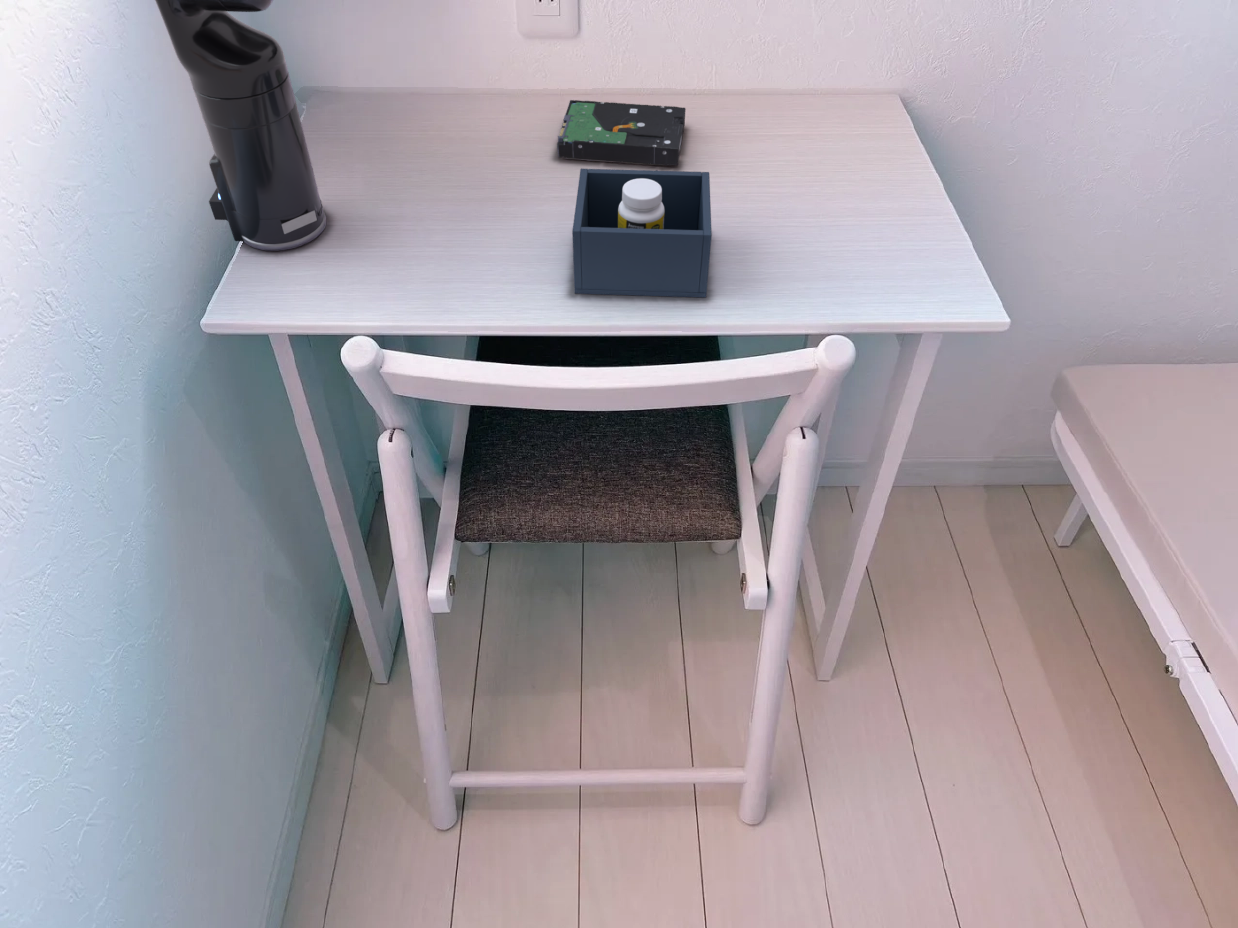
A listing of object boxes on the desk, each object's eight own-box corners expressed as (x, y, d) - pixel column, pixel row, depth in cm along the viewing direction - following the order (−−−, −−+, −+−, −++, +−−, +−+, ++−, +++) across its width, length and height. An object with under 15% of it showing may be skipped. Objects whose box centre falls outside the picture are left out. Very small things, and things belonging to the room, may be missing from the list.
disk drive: (684, 127, 125) (569, 118, 126) (686, 106, 123) (569, 97, 124) (678, 169, 118) (556, 160, 119) (680, 148, 116) (556, 139, 117)
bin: (574, 293, 101) (572, 231, 96) (582, 229, 109) (580, 168, 104) (706, 297, 101) (711, 235, 95) (704, 233, 109) (709, 171, 103)
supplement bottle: (621, 273, 103) (621, 203, 97) (614, 247, 106) (614, 177, 100) (665, 269, 103) (669, 199, 97) (658, 243, 106) (661, 174, 100)
